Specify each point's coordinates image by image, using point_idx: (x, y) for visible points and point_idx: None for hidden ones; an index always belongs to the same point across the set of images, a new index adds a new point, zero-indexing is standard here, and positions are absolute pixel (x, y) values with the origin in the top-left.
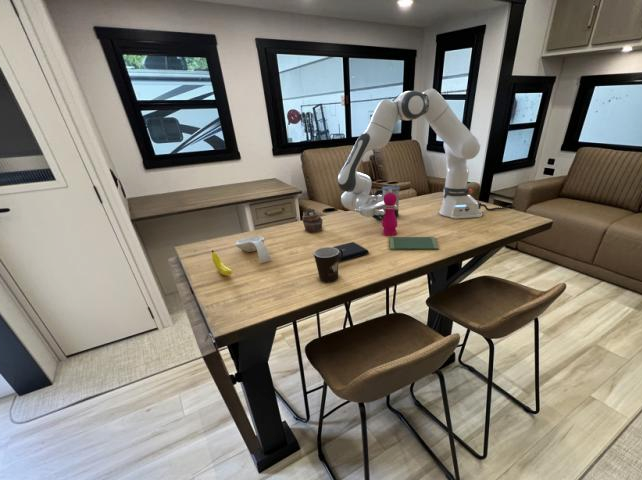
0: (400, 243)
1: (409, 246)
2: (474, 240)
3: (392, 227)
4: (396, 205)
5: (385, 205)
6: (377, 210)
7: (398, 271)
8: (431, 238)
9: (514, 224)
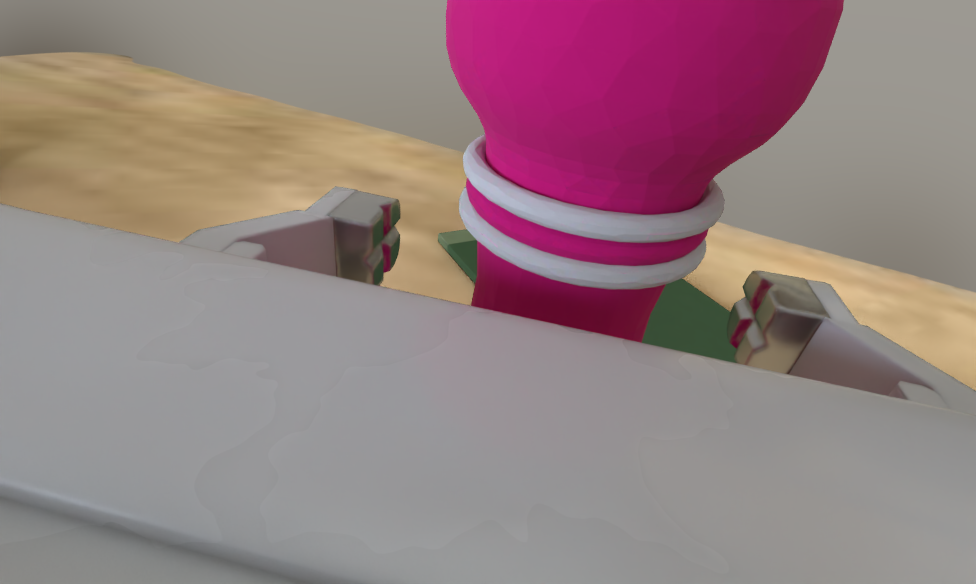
0: (687, 348)
1: (680, 298)
2: (390, 151)
3: None
4: (330, 199)
5: (721, 202)
6: (934, 371)
7: (936, 289)
8: (472, 239)
9: (133, 86)
